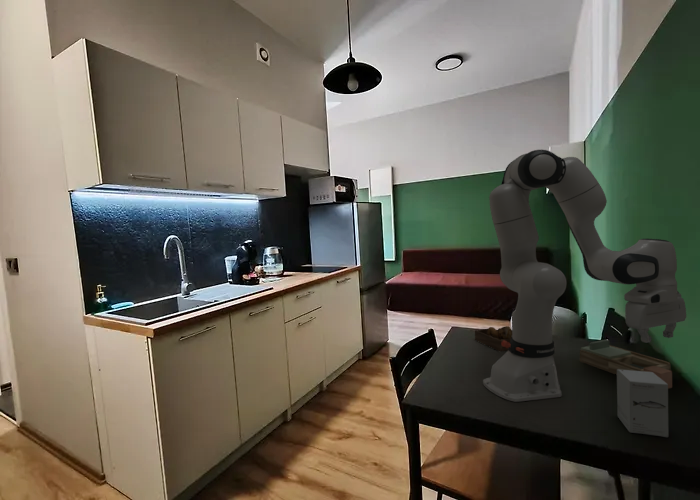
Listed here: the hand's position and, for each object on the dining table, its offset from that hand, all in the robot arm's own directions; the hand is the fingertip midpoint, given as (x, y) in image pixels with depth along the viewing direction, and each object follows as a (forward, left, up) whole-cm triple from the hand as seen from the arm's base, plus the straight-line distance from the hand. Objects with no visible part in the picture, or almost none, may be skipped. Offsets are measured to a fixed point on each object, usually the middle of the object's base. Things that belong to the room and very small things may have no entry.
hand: (657, 339), depth 97 cm
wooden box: (+4, +13, -14) cm, 19 cm away
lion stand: (-17, +49, -14) cm, 54 cm away
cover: (+4, +18, -10) cm, 21 cm away
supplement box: (-26, -12, -14) cm, 32 cm away
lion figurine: (-16, +48, -14) cm, 53 cm away
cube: (0, 0, -14) cm, 14 cm away
